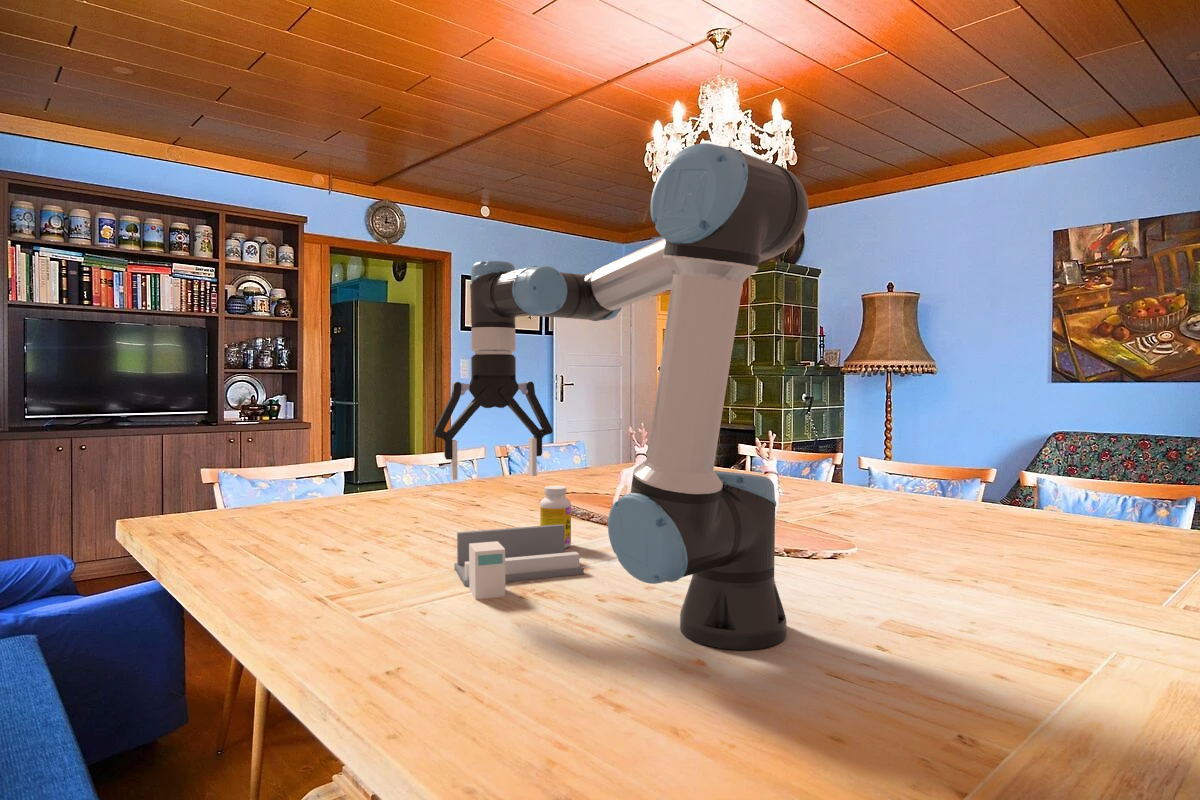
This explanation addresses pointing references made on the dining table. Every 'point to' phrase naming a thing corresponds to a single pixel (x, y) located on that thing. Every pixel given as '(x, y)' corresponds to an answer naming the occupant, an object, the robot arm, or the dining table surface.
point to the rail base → (523, 552)
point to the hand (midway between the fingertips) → (494, 477)
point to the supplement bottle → (556, 510)
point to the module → (487, 570)
